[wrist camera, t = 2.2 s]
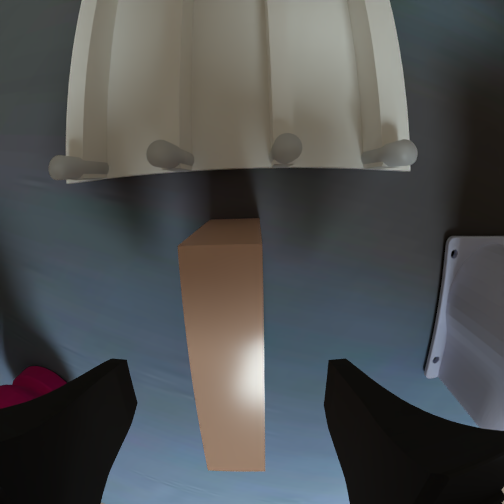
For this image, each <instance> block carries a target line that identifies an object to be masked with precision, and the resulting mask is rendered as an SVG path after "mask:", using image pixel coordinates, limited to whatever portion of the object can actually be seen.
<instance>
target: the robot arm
mask: <svg viewBox="0 0 504 504" xmlns="http://www.w3.org/2000/svg"><path fill="white" fill-rule="evenodd" d="M453 250H454V255H453V256H452V257H451V252H452V251H453ZM435 357H436V359H435V360H433V359H434V358H435ZM424 374H425V376H426V377H427V378H435V377H439V379H440V380H441V381H442V382H443V383H444V385H445V386H446V387H447V388H448V389H449V391H450V392H451V393H452V394H453V396H454V397H455V398H456V399H457V400H458V402H459V403H460V404H461V405H462V407H463V408H464V409H465V410H466V412H467V413H468V414H469V415H470V417H471V418H472V419H473V420H474V422H475V423H476V424H477V425H478V426H479V427H480V428H477V427H472V426H468V425H463V424H459V423H456V422H452V421H449V420H446V419H443V418H441V417H438V416H435V415H433V414H430V413H428V412H425V411H423V410H421V409H419V408H417V407H415V406H413V405H411V404H409V403H407V402H405V401H404V400H402V399H400V398H399V397H397V396H396V395H394V394H392V393H391V392H389V391H388V390H386V389H385V388H383V387H382V386H380V385H379V384H378V383H376V382H375V381H374V380H372V379H371V378H370V377H368V376H367V375H366V374H365V373H363V372H362V371H361V370H360V369H358V368H357V367H356V366H355V365H353V364H352V363H351V362H349V361H348V360H347V359H336V360H329V363H328V373H327V382H326V391H325V400H324V408H325V414H326V419H327V424H328V429H329V432H330V435H331V438H332V441H333V444H334V447H335V450H336V453H337V456H338V459H339V462H340V465H341V468H342V471H343V474H344V477H345V481H346V485H347V490H348V495H349V501H350V504H502V503H501V502H503V501H504V493H503V492H502V488H503V487H504V236H451V237H449V238H448V239H447V241H446V246H445V257H444V267H443V275H442V283H441V290H440V297H439V303H438V310H437V315H436V321H435V326H434V331H433V336H432V341H431V346H430V350H429V355H428V359H427V363H426V367H425V371H424ZM136 406H137V400H136V396H135V392H134V389H133V385H132V381H131V377H130V373H129V368H128V364H127V360H123V359H110V360H108V361H106V362H104V363H102V364H100V365H98V366H97V367H95V368H93V369H91V370H90V371H88V372H86V373H85V374H83V375H81V376H79V377H78V378H76V379H74V380H72V381H71V382H69V383H67V384H65V385H63V386H61V387H59V388H57V389H55V390H53V391H51V392H49V393H47V394H45V395H42V396H40V397H37V398H35V399H32V400H29V401H27V402H23V403H20V404H16V405H13V406H9V407H5V408H1V409H0V504H100V503H101V499H102V495H103V491H104V488H105V485H106V481H107V478H108V475H109V472H110V470H111V467H112V465H113V463H114V461H115V458H116V456H117V454H118V452H119V450H120V448H121V446H122V443H123V441H124V439H125V437H126V435H127V433H128V430H129V428H130V426H131V423H132V420H133V417H134V414H135V410H136Z"/></svg>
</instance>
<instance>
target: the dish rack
mask: <svg viewBox="0 0 504 504" xmlns="http://www.w3.org/2000/svg"><path fill="white" fill-rule="evenodd" d="M417 155H418V153H417V148H416V146H415V145H414V143H413V142H411V141H410V140H409V126H408V113H407V102H406V93H405V84H404V76H403V69H402V62H401V55H400V49H399V43H398V38H397V32H396V27H395V22H394V18H393V13H392V9H391V4H390V0H82V3H81V7H80V12H79V17H78V22H77V27H76V33H75V39H74V46H73V53H72V60H71V68H70V78H69V88H68V101H67V120H66V156H61V155H57V156H55V157H54V158H53V159H52V160H51V161H50V164H49V174H50V176H51V177H52V178H53V179H55V180H66V182H67V183H80V182H87V181H95V180H103V179H112V178H121V177H130V176H140V175H151V174H163V173H175V172H190V171H207V170H227V169H258V168H338V169H367V170H387V171H410V165H412V164H413V163H414V162H415V161H416V159H417Z"/></svg>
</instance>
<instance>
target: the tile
mask: <svg viewBox="0 0 504 504" xmlns="http://www.w3.org/2000/svg"><path fill="white" fill-rule="evenodd" d="M178 256H179V269H180V280H181V291H182V301H183V310H184V320H185V328H186V337H187V345H188V353H189V360H190V368H191V375H192V382H193V388H194V395H195V401H196V407H197V413H198V419H199V425H200V431H201V436H202V442H203V447H204V452H205V458H206V463H207V468H208V470H212V471H265V391H264V316H263V261H262V238H261V228H260V218H246V219H214V220H209V221H208V222H207V223H205V224H204V225H203V226H202V227H200V228H199V229H198V230H197V231H195V232H194V233H193V234H192V235H190V236H189V237H188V238H187V239H186V240H184V241H183V242H182V243H181V244H180V245H178Z"/></svg>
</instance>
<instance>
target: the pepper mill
mask: <svg viewBox="0 0 504 504" xmlns="http://www.w3.org/2000/svg"><path fill="white" fill-rule="evenodd" d="M65 384H67V382H66V381H64V380H63V379H62V378H61V377H59V376H58V375H57V374H56V373H54V372H52V371H50V370H48V369H46V368H43V367H39V366H30V367H28V368H26V369H25V370H24V371H23V372H22V373H21V374H20V375H19V376H17V377H16V378H15V380H14V381H13V384H12V385H2V386H0V409H1V408H5V407H9V406H13V405H16V404H20V403H23V402H27V401H29V400H32V399H35V398H37V397H40V396H42V395H45V394H47V393H49V392H51V391H53V390H55V389H57V388H59V387H61V386H63V385H65Z"/></svg>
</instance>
